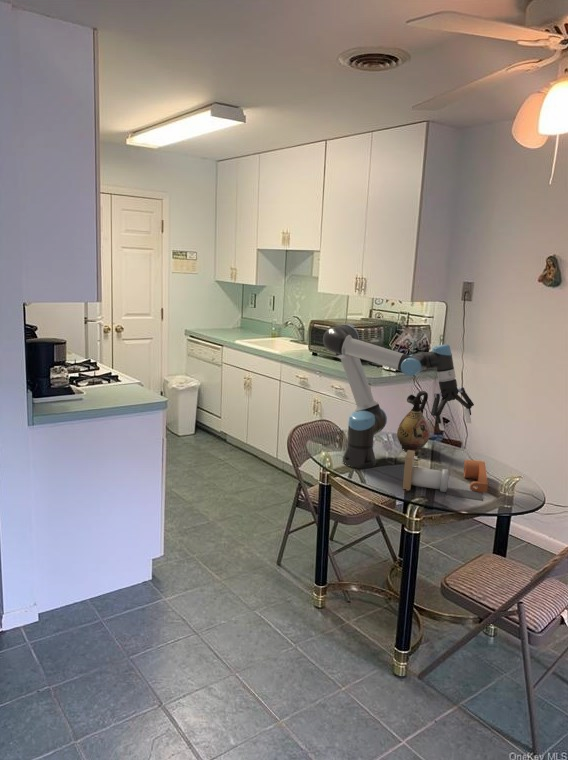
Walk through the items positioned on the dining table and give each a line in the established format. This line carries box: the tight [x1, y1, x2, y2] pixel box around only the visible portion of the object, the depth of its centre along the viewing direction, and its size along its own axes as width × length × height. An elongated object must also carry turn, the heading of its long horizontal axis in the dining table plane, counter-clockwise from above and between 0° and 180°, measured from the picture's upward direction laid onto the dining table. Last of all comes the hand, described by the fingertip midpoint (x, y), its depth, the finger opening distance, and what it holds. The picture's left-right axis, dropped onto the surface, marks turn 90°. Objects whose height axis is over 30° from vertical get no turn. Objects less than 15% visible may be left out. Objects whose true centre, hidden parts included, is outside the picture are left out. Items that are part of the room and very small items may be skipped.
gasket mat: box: [446, 486, 484, 502], centre depth 235 cm, size 14×8×1 cm, turn 73°
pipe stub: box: [402, 450, 449, 493], centre depth 238 cm, size 17×10×14 cm, turn 73°
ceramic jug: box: [396, 390, 430, 453], centre depth 285 cm, size 17×15×30 cm
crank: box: [463, 459, 489, 494], centre depth 247 cm, size 20×8×8 cm, turn 167°
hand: (455, 426), depth 255 cm, fingers open, 13 cm apart
